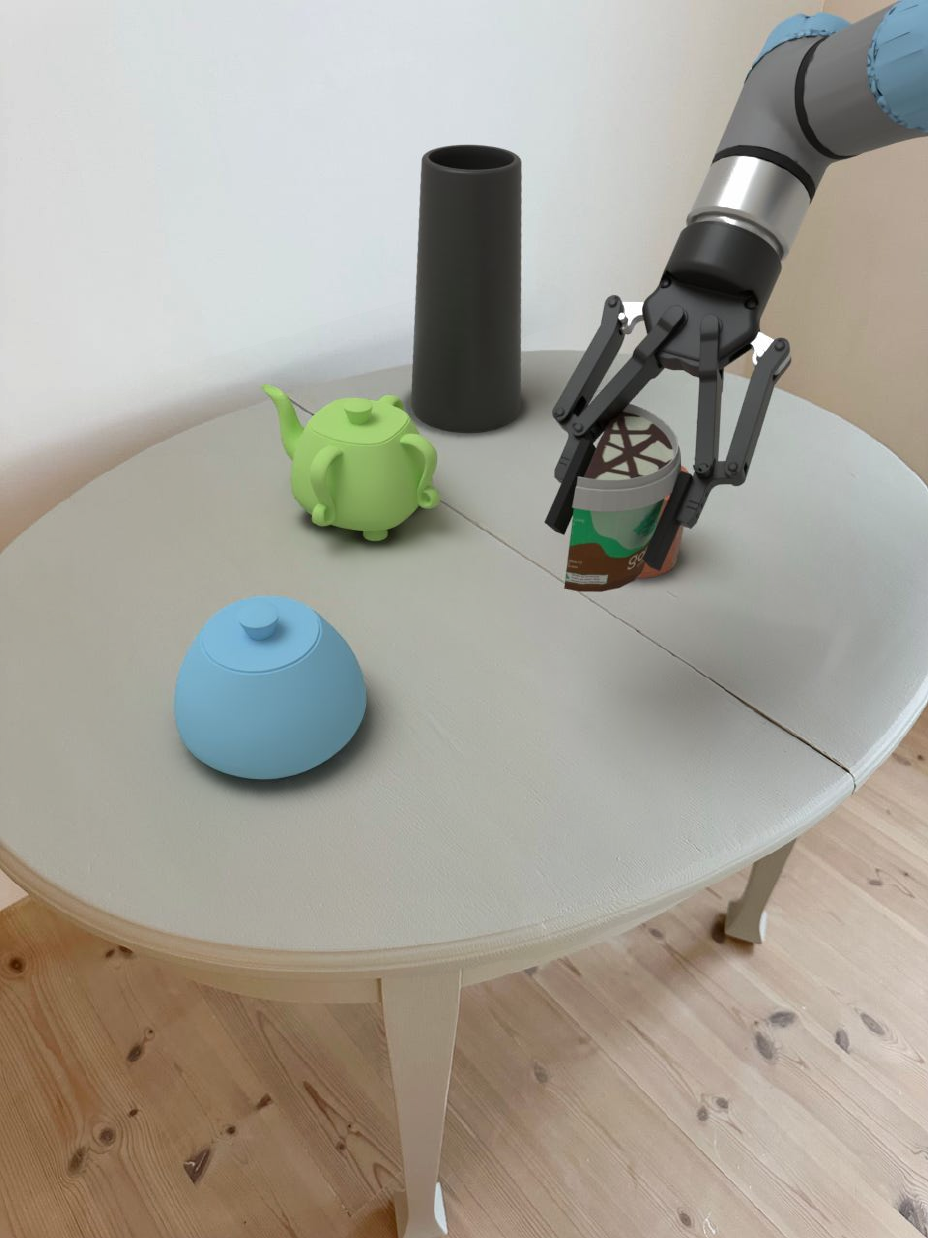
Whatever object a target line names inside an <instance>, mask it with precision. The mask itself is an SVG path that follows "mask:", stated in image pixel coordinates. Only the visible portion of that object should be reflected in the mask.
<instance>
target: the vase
mask: <svg viewBox="0 0 928 1238" xmlns="http://www.w3.org/2000/svg"><path fill="white" fill-rule="evenodd" d="M522 164H523V163H522V159H521V157H520V155H518V154H517V153H515V152H513V151H511V150H509V149H505V148H501V147H497V146H493V145H492V146H491V145H483V144H454V145H452V144H451V145H446V146H440V147H436V148H433V149H431V150H429V151H427V152H425V153H424V154H423V156H422V157H421V166H420V167H421V168H420V185H419V207H418V231H417V251H416V252H417V253H416V276H415V295H414V297H415V299H414V300H415V301H414V302H415V303H414V304H415V305H414V318H413V319H414V322H413V323H414V325H413V346H412V364H411V365H412V366H411V367H412V369H411V371H412V372H411V373H412V374H411V395H410V405H411V410H412V413H413V415H414V416H415V417H416V418H417V419H418V420H420V421H421V422H423V423H424V424H426V425H428V426H431V427H433V428H436V429H439V430H443V431H447V432H454V433H481V432H488V431H492V430H497V429H499V428H502V427H504V426H507V425H508V424H510V423H512V422H513V421H514V420H515V419H516V418H517V417H518V416H519V414H520V412H521V401H522V399H521V398H522V397H521V394H522V393H521V392H522V388H521V387H522V382H521V381H522V226H523V225H522V222H523V221H522V213H523V211H522V210H523V209H522V202H523V201H522V200H523V199H522V192H523V191H522V190H523V188H522V183H523V182H522V181H523V180H522V179H523V175H522V167H523V166H522Z"/></svg>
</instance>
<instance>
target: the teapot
mask: <svg viewBox="0 0 928 1238" xmlns="http://www.w3.org/2000/svg"><path fill="white" fill-rule="evenodd" d="M260 389H261V390H262V391H263V392H264V393H265V394H266V395H267V396H268V397H269V398H270V400H271V401H272V403H273V404H274V406H275V408H276V411H277V415H278V420H279V430H280V437H281V442H282V447H283V448H284V451H285V453H286V455H287V456H288V458H289V459H290V460H291V461H292V462H291V467H290V489H291V493H292V495H293V498H294V499H295V501H297V503H298V504H299V505H300V507H302V508H303V510H305V511H306V512H307V513H308V514H310V515H311V522H312V523H313V524H314V525H316V526H319V527H328V526H330V525H331V526H334V527H337V528H341V529H346V530H352V531H359V532H362V536H363V537H364V539H366V540H367V541H371V542H380V541H383V540H384V539H386V538H387V537H388V535H389V533H388V530H391V529H394V528H395V527H397V526H399V525H401V524H402V523H403V522H405V521H406V520H407V519H408V518H409V517H410V516H411V515H412V514H413V513H414V512H415V511H416V510H417V509H418V508H419V507H421V508H423V509H433V508H435V507H437V506H438V505H439V502H440V500H441V494H440V491H438V489H437V488H435V487H433V486H432V484H433V476H434V474H435V471H436V468H437V464H438V453H437V450H436V447H435V446H434V445H433V443H432V442H431V441H430V440H429V439H427V438H426V437H424V436H423V435H421V433H420V431H419V430H418V428H417V426H416V424H415V422H414V421H413V420H412V417H410V415H409V414H408V413H407V412H406V411H405V408H404V407H405V406H404V402H403V400H402V399H401V397H399V396H397V395H393V394H384V395H383V396H381V397H380V398H379V399H378V400H374V399H367V398H365V397H363V398H362V397H345V398H344V397H343V398H339V399H335V400H333V401H331V402H329V403H328V404H326V405H324V406H323V407H322V408H320V409H319V410H318V411H317V412H316V413H315V414H314V415H313V416H311V418H310V419H309V420H308V421H307V423H306V425H305V427H303V425H302V424H301V421H300V420H299V418H298V415H297V413H296V410H295V407H294V404H293V403H292V401H291V399H290V398H289V396H288V395H287V394H286V393H285V392H284V391H283V390H281V389H279V388H277V387H275V386H273V385H270V384H261V385H260Z"/></svg>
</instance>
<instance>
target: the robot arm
mask: <svg viewBox="0 0 928 1238" xmlns="http://www.w3.org/2000/svg"><path fill="white" fill-rule="evenodd" d="M925 137H926V138H927V137H928V0H897V1H895V2H893V3H892V4H890V5H888V6H885V7H884V8H881V9H879V10H878V11H875V12H874V13H872V14H870V15H868V16H865V17H864V18H862V19H860V20H858V21H856V22H854V23H852V22H850V21H848V20H847V19H845V18H843V17H841V16H839V15H836V14H832V13H828V12H821V11H820V12H816V13H814V14H813V15H807V14H805V13H796V14H794V15H792V16H788V17H787V18H785V19H784V20H782V21H780V22H779V23H778V24H777V25H776V26H775V27H774V28H773V29H772V31H771V32H770V33H769V35H768V36H767V38H766V40H765V42H764V45H763V47H762V48H761V51H760V52H759V55H758V56H757V57H756V58H755V60H754V61H753V62H752V65H751V69H749V70H748V72H747V74H746V77H745V79H744V81H743V86H742V89H741V91H740V93H739V95H738V98H737V101H736V103H735V106H734V108H733V111H732V113H731V115H730V117H729V120H728V122H727V125H726V127H725V129H724V132H723V134H722V137H721V139H720V141H719V144H718V146H717V148H716V151H715V153H714V156H713V159H712V161H711V164H710V166H709V168H708V170H707V172H706V174H705V177H704V178H703V180H702V183H701V185H700V187H699V190H698V192H697V194H696V196H695V198H694V201H693V202H692V205H691V207H690V209H689V212H688V213H687V216H686V219H685V224H686V225H685V227H684V228H683V229H682V230H681V231H680V233H679V235H678V237H677V240H676V242H675V245H674V246H673V249H672V251H671V253H670V256H669V258H668V260H667V263H666V265H665V268H664V270H663V272H662V275H661V277H660V281H659V283H658V285H657V287H656V288H655V290H653V292H652V293H650V294H649V295H648V296H647V297H646V298H645V300H644V301H622V299H621V297H620V296H619V295H618V294H617V295H616V294H612V295H610V296H608V297H607V298H606V299H605V301H604V305H603V310H602V316H601V320H600V325H599V326H598V329H597V330H596V332H595V334H594V336H593V337H592V338H591V341H590V343H589V345H588V347H587V348H586V350H585V352H584V353H583V355H582V356H581V359H580V361H579V362H578V364H577V366H576V368H575V369H574V371H573V373H572V374H571V377H570V378H569V380H568V382H567V383H566V386H565V387H564V389H563V391H562V392H561V394H560V396H559V398H558V400H557V401H556V403H555V405H554V406H553V409H552V411H551V415H552V417H553V419H554V420H555V421H556V423H557V424H558V425H559V426H560V428H561V429H562V430H563V431H565V432H566V433H567V434H568V436H567V439H566V442H565V444H564V447H563V450H562V451H561V454H560V457H559V459H558V461H557V463H556V465H555V468H554V472H553V473H554V474H553V477H554V479H556V481H557V482H558V483H559V484H560V486H559V488H558V490H557V492H556V495H555V496H554V499H553V502H552V504H551V506H550V508H549V511H548V513H547V515H546V517H545V519H544V524H546V525H547V526H548V527H549V528H550V529H551V530H552V531H554V532H555V533H557V534H561V535H563V536H565V535H566V532H567V530H568V528H569V525H570V523H571V522H572V520H573V511H574V508H572V506H573V500H574V495H575V489H576V486H577V480H578V477H584V475H585V473H586V471H587V469H588V466H589V464H590V462H591V459H592V457H593V455H594V452H595V450H596V447H597V446H595V444H594V443H596V441H597V440H598V439H600V438H601V436H602V435H603V433H604V431H605V429H606V427H607V425H608V423H609V421H610V420H612V419H614V418H616V417H618V415H619V414H620V413H621V412H622V411H623V410H624V409H625V408H626V407H627V405H628V404H631V402H632V401H633V400H634V399H635V398H636V397H637V396H638V394H639V393H640V392H642V390H644V388H645V387H646V386H647V384H648V383H649V382H650V381H651V380H654V379H656V378H657V377H658V376H659V375H660V374H661V373H662V372H663V371H664V370H665V369H667V370H670V371H683V372H685V373H687V374H689V375H690V376H692V377H695V378H698V381H699V382H698V396H697V397H698V398H697V415H696V433H695V451H694V464H692V468H693V471H694V472H693V474H692V473H690V472H689V473H687V472H684V471H681V472H680V474H679V476H678V479H677V481H676V483H675V486H674V488H673V490H672V493H671V495H670V497H669V499H668V502H667V504H666V506H665V508H664V511H663V513H662V515H661V518H660V520H659V522H658V524H657V527H656V529H655V531H654V534H653V536H652V538H651V541H650V543H649V545H648V547H647V550H646V552H645V554H644V557H643V560H644V561H645V562H646V563H647V564H648V566H649V567H651V568H653V569H656V570H658V571H660V570H661V568H662V566H663V563H664V561H665V559H666V556H667V554H668V552H669V550H670V547H671V545H672V543H673V540H674V538H675V536H676V534H677V531H678V529H679V527H680V525H681V526H684V528H687V529H689V530H692V529H693V528H694V527H695V526H696V524H697V523H698V521H699V518H700V516H701V514H702V512H703V509H704V507H705V505H706V503H707V501H708V498H709V496H710V493H711V492H712V490H713V489H714V488H716V487H717V486H721V485H731V486H733V487H740V486H742V485H744V483H745V482H746V480H747V477H748V473H749V470H750V466H751V464H752V461H753V457H754V454H755V451H756V448H757V445H758V442H759V438H760V434H761V431H762V429H763V425H764V422H765V418H766V415H767V412H768V408H769V405H770V401H771V400H772V399H771V398H772V396H773V392H774V390H775V387H776V384H777V383H778V382H779V380H780V379H781V378H782V376H783V375H784V373H786V371H787V369H788V368H790V366H791V364H792V352H791V346H790V342H789V340H788V339H787V338H785V337H777V338H775V339H774V338H772V337H770V336H769V335H767V334H765V333H763V332H761V327H760V326H761V325H760V324H761V318H762V316H763V314H764V311H765V309H766V307H767V304H768V302H769V300H770V298H771V296H772V293H773V291H774V288H775V286H776V284H777V282H778V279H779V277H780V275H781V273H782V270H783V265H782V262H784V261H785V260H786V259H787V257H788V255H789V253H790V251H791V250H792V248H793V244H794V242H795V240H796V238H797V235H798V233H799V231H800V229H801V227H802V224H803V222H804V220H805V217H806V216H807V213H808V211H809V209H810V206H811V204H812V201H813V199H814V197H815V195H816V191H817V190H818V188H819V186H820V183H821V182H822V179H823V177H824V175H825V173H826V170H827V169H828V167H829V166H830V165H832V164H833V163H838V162H839V161H844V160H848V159H852V158H854V157H857V156H860V155H862V154H865V153H869V152H871V151H875V150H878V149H882V148H886V147H888V146H891V145H894V144H897V143H901V142H906V141H909V140H914V139H918V138H925ZM640 322H643V323H644V327H645V332H646V336H645V337H644V338H643V339H642V340H641V341H640V342H639V343H638V344H637V345H636V346H635V348H634V349H633V351H632V355H631V357H630V358H629V359H628V360H627V361H626V362H625V364H624V365H623V366H622V367H621V368H620V369H619V370H618V372H617V373H615V375H614V376H613V377H612V378H611V379H610V380H609V382H608V383H607V384H606V385H604V387H603V388H602V389H601V391H600V392H599V393H598V394H597V395H596V396H595V394H596V393H597V391H598V389H599V387H600V386H601V384H602V382H603V380H604V378H605V377H606V375H607V373H608V371H609V370H610V367H611V366H612V365H613V362H614V361H615V359H616V357H617V356H618V354H619V352H620V350H621V348H622V346H623V343H624V341H625V338H626V337H625V336H626V335H631V334H632V333H633V331H634V329H635V327H636V325H638V323H640ZM749 351H753V354H752V356H751V357H752V358H751V360H752V365H753V367H754V369H753V371H752V374H751V377H750V380H749V383H748V386H747V389H746V393H745V396H744V399H743V402H742V406H741V408H740V411H739V412H740V413H739V415H738V419H737V422H736V425H735V429H734V430H733V431H734V432H733V434H732V438H731V442H730V445H729V448H728V451H727V454H726V458H725V460H722V461H721V460H719V455H720V439H721V438H720V437H721V419H722V418H721V417H722V400H723V399H722V397H723V391H724V380H725V368H727V366H729V365H730V364H732V363H733V362H735V361H736V360H737V359H739V358H740V357H742V356H744V355H746V354H747V353H748V352H749Z"/></svg>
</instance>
